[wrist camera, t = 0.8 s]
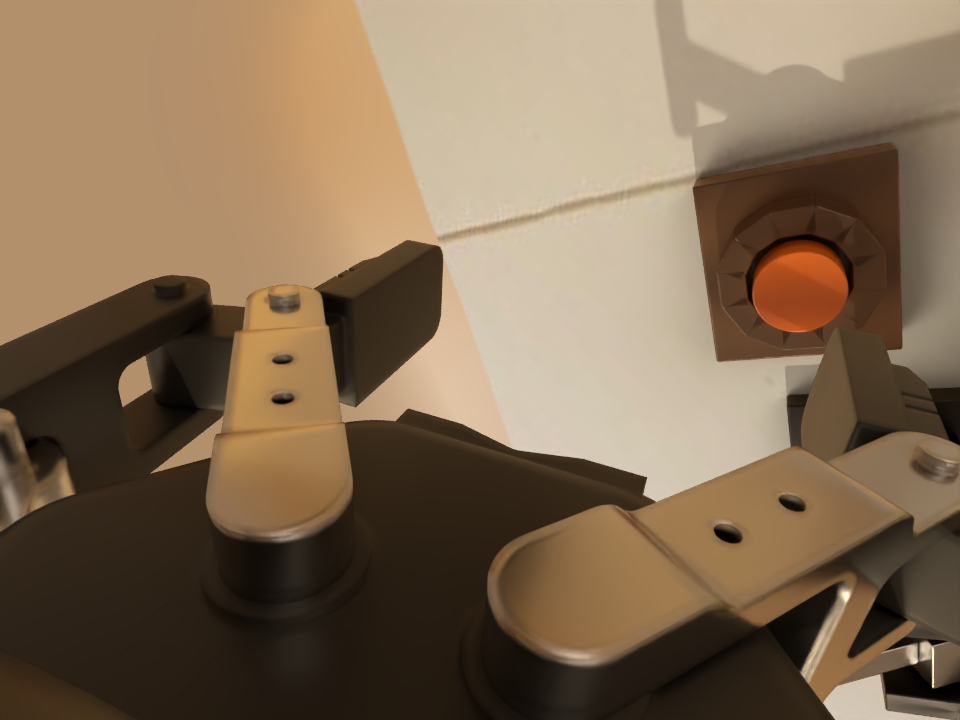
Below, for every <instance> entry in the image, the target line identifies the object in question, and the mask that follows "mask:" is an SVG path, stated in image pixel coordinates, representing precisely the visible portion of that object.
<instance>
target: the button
mask: <svg viewBox="0 0 960 720" xmlns="http://www.w3.org/2000/svg"><path fill="white" fill-rule="evenodd" d="M847 297H848V281H847V277H846V273H845V270H844V266H843V263H842V261H841V259H840V258H839V256H838V255H837V254H836V253H835V252H834V251H833V250H832V249H831V248H829V247H828V246H826V245H824V244H822V243H820V242H816V241H813V240H792V241H788V242H785V243H782V244H780V245H777V246H776V247H774V248H772V249H771V250H770V251H768V252H767V253H766V254H765V255H764V256H763V257H762V259H761V260H760V261H759V263H758V265H757V267H756V269H755V272H754V278H753V289H752V299H753V303H754V306H755V309H756V310H757V312H758V314H759V315H760V316H761V317H762V319H763V320H764V321H766V322H767V323H768V324H770V325H772V326H773V327H775V328H778V329H780V330H784V331H789V332H807V331H811V330H815V329H818V328H820V327H822V326H824V325H826V324H828V323H829V322H831V321H832V320H833V319H834V318H836V317H837V315H838V314H839V313H840V312H841V311H842V309H843V307H844V305H845V303H846V301H847Z"/></svg>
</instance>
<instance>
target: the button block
mask: <svg viewBox="0 0 960 720" xmlns="http://www.w3.org/2000/svg"><path fill="white" fill-rule="evenodd" d="M693 195H694V202H695V209H696V216H697V223H698V230H699V237H700V244H701V252H702V259H703V266H704V273H705V280H706V287H707V294H708V301H709V308H710V316H711V323H712V330H713V337H714V344H715V351H716V358H717V361H718V362H722V361H737V360H751V359H765V358H780V357H794V356H809V355H823V354H824V352H825V350H826V347H827V344H828V342H829V339H830V337H831V334H832V332H833V331H834V329H835V328H836V327H841V328H846V329H851V330H856V331H861V332H866V333H871V334H876V335H881V336H882V338H883V341H884V344H885V347H886V350H896V349H902V302H901V256H900V209H899V162H898V150H897V148H896V147H895V146H894V145H893V144H892V143H885V144H880V145H875V146H870V147H864V148H859V149H854V150H849V151H843V152H838V153H833V154H828V155H823V156H817V157H812V158H807V159H802V160H796V161H791V162H786V163H781V164H775V165H770V166H765V167H760V168H754V169H749V170H744V171H739V172H734V173H728V174H723V175H718V176H713V177H707V178H702V179H698V180H696V182H695V184H694V187H693ZM792 240H813V241H816V242H820V243H822V244H824V245H826V246H828V247H829V248H831V249H832V250H833V251H834V252H835V253H836V254H837V255H838V256H839V258H840V259H841V261H842V263H843V266H844V270H845V273H846V277H847V281H848V297H847V301H846V303H845V305H844V307H843V309H842V311H841V312H840V313H839V314H838V315H837V317H836V318H834V319H833V320H832V321H831V322H829V323H828V324H826V325H824V326H822V327H820V328H818V329H815V330H811V331H807V332H789V331H784V330H780V329H778V328H775V327H773V326H772V325H770V324H768V323H767V322H766V321H764V320H763V319H762V317H761V316H760V315H759V314H758V312H757V310H756V309H755V306H754V303H753V299H752V289H753V278H754V272H755V269H756V267H757V265H758V263H759V261H760V260H761V259H762V257H763V256H764V255H765V254H766V253H767V252H768V251H770V250H771V249H772V248H774V247H776V246H777V245H780V244H782V243H785V242H788V241H792Z"/></svg>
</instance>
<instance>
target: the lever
mask: <svg viewBox="0 0 960 720" xmlns="http://www.w3.org/2000/svg"><path fill="white" fill-rule="evenodd" d="M910 665H912V666H913V667H914V668H915V669H916V670H917V671H918V672H919V674H920V675H921V676H922V677H923V678H924V679H925V680H926V681H927V683H928V684H929V685H930V686H931V687H932V688H938V687H942V686H945V685H949V684H952V683H956V682H960V647H959V646H957V645H955V644H953V643H952V642H950V641H944V640H934V639H924V638H914V637H903V638H902V639H900V640H899V641H898V642H896V643H895V644H893V645H892V646H891V647H889V648H888V649H886V650H885V651H884V652H882V653H881V654H879V655H878V656H877V657H875V658H874V659H873V660H871V661H870V662H868V663H867V664H866V665H864V666H863V667H861V668H860V669H859V670H857V671H856V672H854V673H853V674H852V675H850V676H849V677H848V678H846V679H845V680H843V681H842V682H841V683H840V684H839V685H842V684H845V683H849V682H852V681H856V680H860V679H863V678H867V677H870V676H874V675H878V674H881V673H885V672H888V671H892V670H896V669H899V668H903V667H906V666H910Z"/></svg>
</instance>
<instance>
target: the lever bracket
mask: <svg viewBox="0 0 960 720" xmlns="http://www.w3.org/2000/svg"><path fill="white" fill-rule="evenodd" d="M928 390H929V392H930V394H931V397H932V402H934V404H935V407H936V409H937V411H938V412H937V415H939V416H940V419H941V421H942V423H943V426H944V428H945V431H946V433H947V435H948V438H949V440H950V442H952V443H955V444H957V445H959V446H960V388H938V389H928ZM808 397H809V394H805V395H788V396H787V413H788V423H789V433H790V443H791V447H793V446H801V447H802V442H801V424H802V418H803V413H804V409H805V406H806V402H807V399H808ZM904 637H914V638H924V639H934V640H944V641H948V640H946V639H944V638H942V637H940V636H938V635H937V634H935V633H933V632H931V631H929V630H927V629H925V628H923V627H922V626H920V625H918V624H917V625H916V627H915V628H914V629H913V630H912V631H911V632H910V633H909V634H907V635H906V636H904ZM880 675H881V682H882V688H883V694H884V701H885V707H886V710H888V711H895V712H902V713H909V714H916V715H923V716H930V717H937V718H944V719H950V720H960V682H956V683H952V684H949V685H945V686H942V687H938V688H932V687H931V686H930V685H929V684H928V683H927V681H926V680H925V679H924V678H923V677H922V676H921V675H920V674H919V672H918V671H917V670H916V669H915V668H914V667H913V666H912V665H910V666H906V667H903V668H899V669H896V670H892V671H888V672H885V673H881V674H880Z"/></svg>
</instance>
